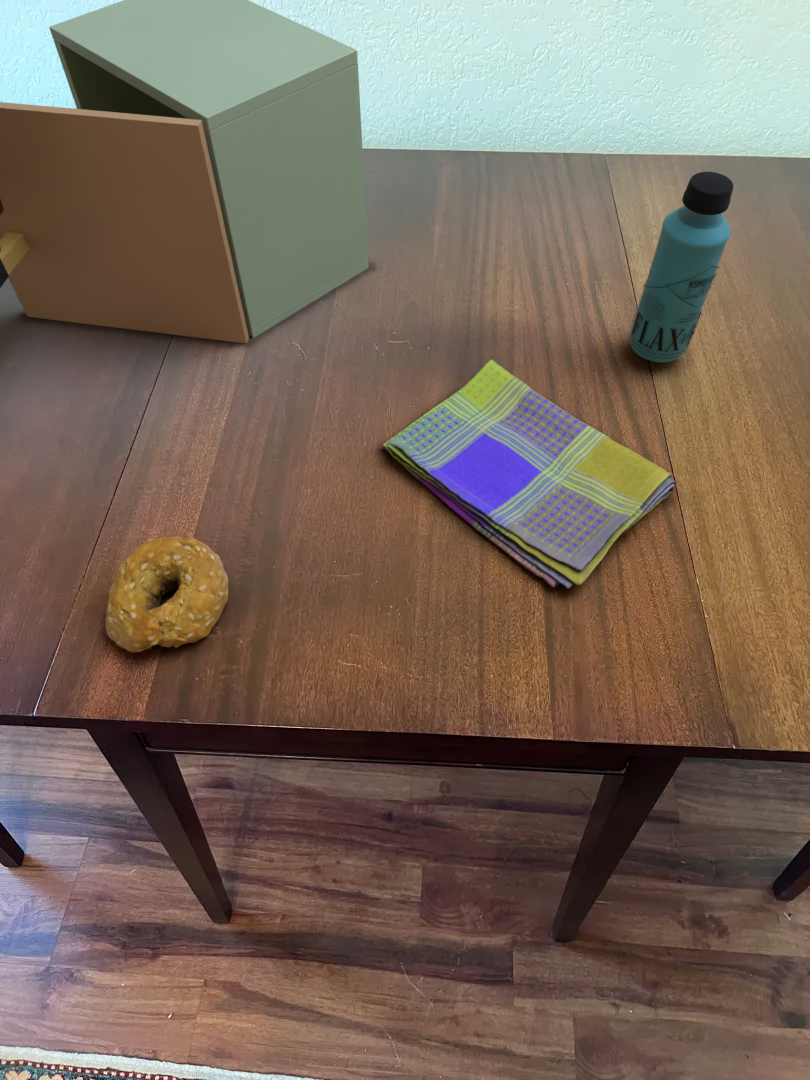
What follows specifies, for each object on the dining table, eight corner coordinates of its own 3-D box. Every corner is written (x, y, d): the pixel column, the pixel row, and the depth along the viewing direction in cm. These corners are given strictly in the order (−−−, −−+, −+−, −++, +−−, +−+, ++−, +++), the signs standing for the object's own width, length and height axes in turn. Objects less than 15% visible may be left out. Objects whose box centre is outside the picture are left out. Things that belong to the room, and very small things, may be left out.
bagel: (85, 607, 68) (65, 578, 64) (192, 537, 72) (179, 506, 68) (146, 685, 63) (128, 659, 59) (256, 606, 68) (246, 577, 64)
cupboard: (253, 338, 88) (206, 117, 68) (122, 241, 99) (48, 26, 79) (369, 268, 95) (357, 49, 75) (235, 184, 106) (193, -26, 86)
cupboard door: (227, 386, 83) (169, 168, 63) (-2, 356, 86) (-124, 139, 66) (249, 337, 88) (201, 119, 68) (31, 311, 91) (-75, 95, 71)
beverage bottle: (612, 354, 86) (659, 181, 69) (647, 326, 88) (700, 152, 72) (662, 383, 83) (723, 210, 67) (697, 353, 86) (764, 179, 69)
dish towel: (494, 368, 85) (496, 349, 82) (684, 494, 74) (692, 475, 72) (376, 454, 78) (375, 435, 75) (567, 605, 67) (572, 588, 65)
